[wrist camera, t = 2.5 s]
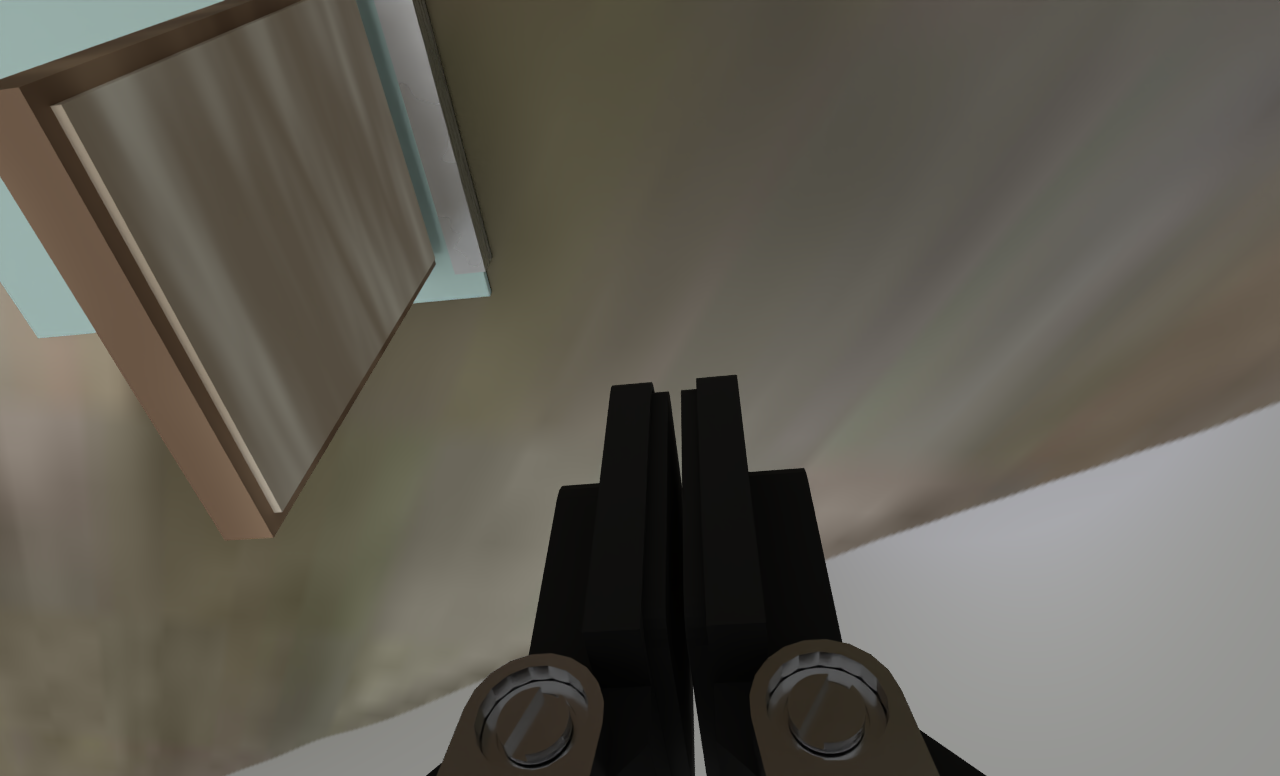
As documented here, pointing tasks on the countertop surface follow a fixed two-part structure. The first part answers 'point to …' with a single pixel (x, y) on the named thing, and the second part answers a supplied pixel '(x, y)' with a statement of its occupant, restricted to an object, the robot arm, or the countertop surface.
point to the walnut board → (227, 230)
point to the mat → (114, 7)
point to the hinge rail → (435, 131)
